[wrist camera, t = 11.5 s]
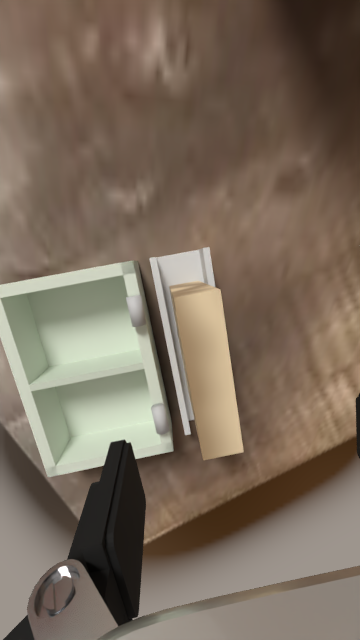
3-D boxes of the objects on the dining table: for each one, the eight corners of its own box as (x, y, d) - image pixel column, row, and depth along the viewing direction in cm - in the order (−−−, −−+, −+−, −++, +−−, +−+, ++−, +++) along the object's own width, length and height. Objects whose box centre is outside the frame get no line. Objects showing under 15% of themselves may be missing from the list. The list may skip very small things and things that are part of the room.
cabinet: (203, 249, 27) (216, 244, 21) (229, 409, 30) (246, 445, 24) (17, 283, 26) (-27, 289, 20) (66, 442, 30) (42, 487, 24)
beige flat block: (198, 280, 27) (220, 289, 17) (216, 389, 29) (243, 451, 19) (168, 285, 26) (173, 298, 17) (188, 394, 29) (202, 460, 19)
